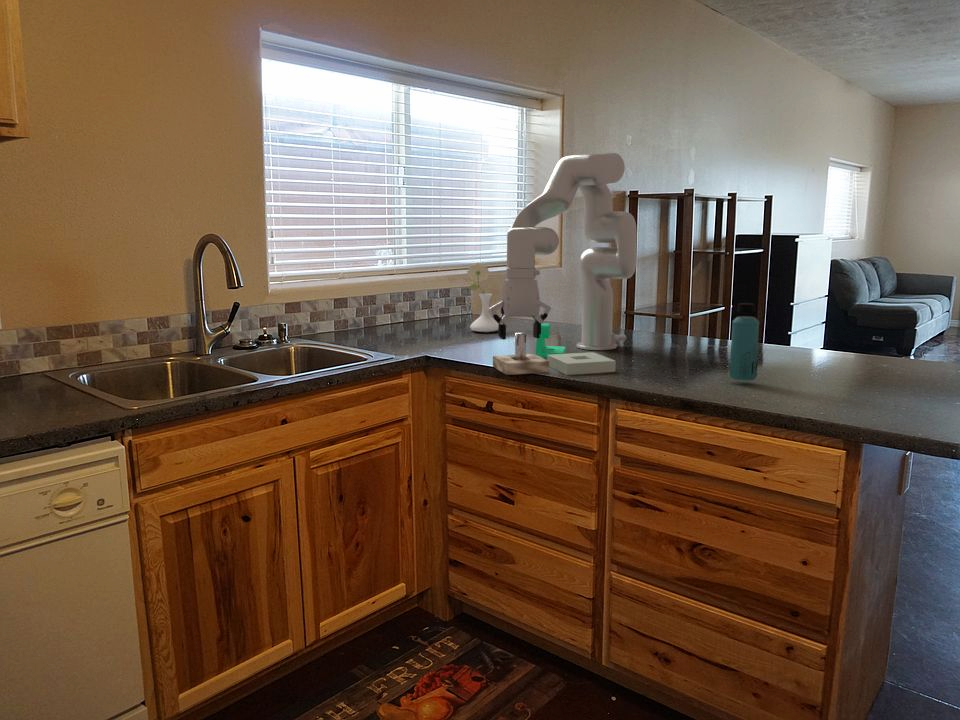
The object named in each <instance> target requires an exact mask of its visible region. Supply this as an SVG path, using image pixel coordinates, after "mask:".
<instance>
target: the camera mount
mask: <svg viewBox="0 0 960 720" xmlns="http://www.w3.org/2000/svg"><path fill="white" fill-rule="evenodd" d="M550 337H551V323H542V324H541V335H540V338H536V342H535V343H536V345H535V355H537V356H540V357H542V358H544V359H546V360H547V355H553V354H566V348H567V347H566V346H562V345H561V346H559V345H546V344H547V343H546V339H550Z"/></svg>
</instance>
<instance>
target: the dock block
mask: <svg viewBox="0 0 960 720" xmlns="http://www.w3.org/2000/svg"><path fill="white" fill-rule="evenodd" d="M546 360H548V361H549V368H552V369H554V370H556V371H558V372H560V373H562V374H564V375H566V376H571V375H586V374H601V373H616V363H617V362H616V361H617V360H614V359H612V358H609V357H608V356H604V355H602V354H600V353H597V352H594V351H592V352H573V353H570V352H569V353H565V354H553V355H547V359H546Z"/></svg>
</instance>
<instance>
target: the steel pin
mask: <svg viewBox="0 0 960 720" xmlns="http://www.w3.org/2000/svg"><path fill="white" fill-rule="evenodd" d="M526 354H527V332H521V331H520V332H519V331H518V332H515V333H514V355H515V360H526Z"/></svg>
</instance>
